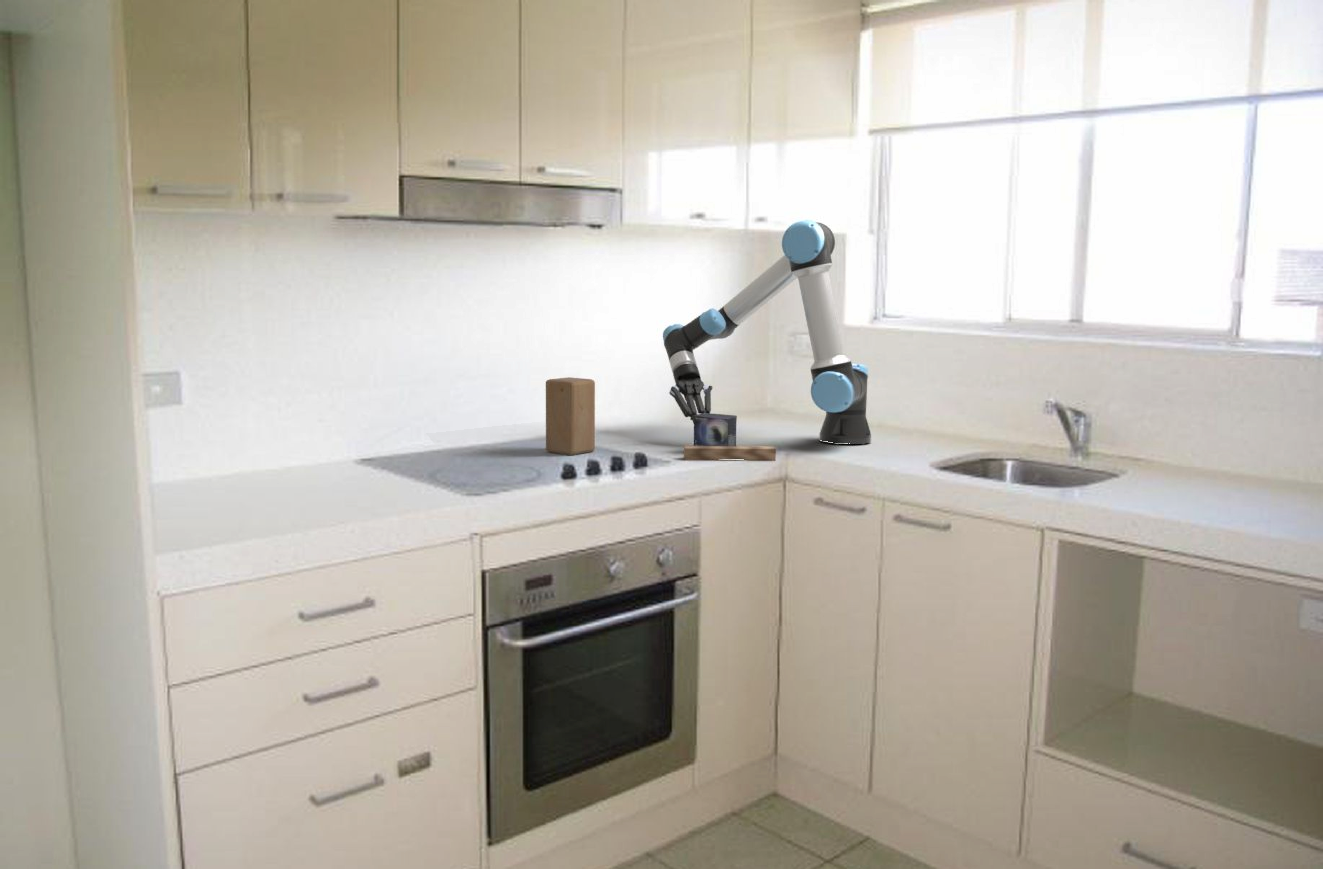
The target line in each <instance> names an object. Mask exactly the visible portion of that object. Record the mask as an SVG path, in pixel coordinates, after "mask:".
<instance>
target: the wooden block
mask: <svg viewBox="0 0 1323 869" xmlns="http://www.w3.org/2000/svg"><path fill="white" fill-rule="evenodd" d="M595 410H596V382H595V380H593V379H591V378H581V377H580V378H579V377H560V378H551V379H547V380H545V451H546V452H548V453H551V452H552V454H558V455H564V454H565V455H567V456H577V455H582V454H587V453H593V452H594V451H595V446H596V444H595V443H596V442H595V441H596V439H595V438H596V436H595V434H596V432H595V431H596V429H595V428H596V424H595V422H596V421H595V420H596V418H595V417H596V416H595V415H596V411H595Z"/></svg>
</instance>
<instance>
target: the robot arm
mask: <svg viewBox="0 0 1323 869" xmlns="http://www.w3.org/2000/svg"><path fill="white" fill-rule="evenodd" d="M834 235H835V234H834V233H833V230H832V229H831V228H830V227H829V226H827V225H826V224H824V223H823V222H816V221H812V220H808V219H806V220H799V221H796V222H794V223H792V224H791V225H789V226H788V227H787V229H786V230H785V231H784V234H783V235H782V237H781V238H782V239H781V249H782V252H783V255H782V257H780V258H779V259H778V260H777V261H775V263H773V264H771V266H770V267H768V268H767V269H766V270H764V272H762V273H761V274H760V275H759V276H758V277H757V278H755V279H754V280H753V281H751V282H750V283H749V284H748V285H747V286H746V287H745V288H743V289H742V290H741V291H740V292H738V293H737V294H736V295H734V297H733V298H732V299H730V300H729V301H728V302H726V304H724V305H723V306H721V307H720V308H719V309H718V310H717V309H716V308H710V309H708V310H706V311H703V312H702V313H701V314H700V315H698V316H697V317H696V318H694V319H692V320H691V321H690V322H688V323H687V324H685V325H683V324H680V323H674V324H673V325H669V326H667V327H666V328H665V329H664V330H663V333H662V340H663V347H664V348H665V351H666V354H667V355H666V356H667V358H668V361H669V365H670V368H671V373H672V376H673V380H674V383H675V385H673V386H671V387H670V390H669V392H668V393H669V395H670V396H671V397H672V398H674V400H675V402H676V404H677V405H678V407H679V408H680V411H681V413H682V414H683V416H684V417H685V418H688V417H689V418H690V421H692V422H693V425H694V416H695V415H698V414H702V413H711V411H712V404H711V403H712V398H711V397H712V396H711V394H712V390H713V386H712V385H708V386H707V385H705V383H704V382H703V380H702V379H701V374H700V372H699V368H698V364H697V361H696V357H695V355H694V350H696V349H698V348H699V347H700V346H702V345H703V344H705V343H707V342H708V341H711V340H717V339H718V340H719V339H726V338H728V337H730V336H731V335H733V333H734V332H735V330H736V329H737V327H739V326H740V325H741V324H742V323H743V322H745V321H746V320H748V318H750V317H751V316H752V315H753V314H754V313H756V312H757V311H758V310H760V308H762V307H763V306H764V305H765V304H767V303H768V302H769V301H770V300H772V299H773V298H774V297H775V296H777V295H778V294H779V293H780V292H781V291H782V290H784V289H786V287H788V286H789V285H790V284H792V283H793V282H794V281H796V279H798V284H799V289H800V295H801V300H802V305H803V310H804V315H805V321H806V325H807V326H806V327H807V331H808V335H809V341H810V345H811V347H810V348H811V351H812V355H813V361H814V362H813V363H812V365H811V366H810V373H811V380H812V383H811V385H810V386H811V387H810V396H811V399H812V401H813V403H814V405H816V406H817V408H819V409H820V410H822V411H824V412H825V416H824V420H823V422H822V426H821V428H820V432H819V434H818V435H819V439H820V440H822V441H828V442H833V443H848V444H849V443H850V444H862V445H864V444H863V443H869V444H871V443H872V434H871V430H870V426H869V422H868V419H867V400H868V398H867V397H868V396H867V394H868V379H869V374H868V373H869V372H868V367H867V366H866V365H865V364H861V363H859V364H857V363H852V359H850V358H849V357H847V356H846V355H845V350H844V346H843V341H842V336H841V331H840V325H839V320H838V316H837V311H836V304H835V299H834V295H833V294H834V293H833V290H832V284H831V280H830V279H831V278H830V274H829V272H830V269H831V268H832V267H833V260H832V254H833V252H834V250H835V245H836V239H835V238H836V237H835V236H834ZM702 390H703V391H702ZM702 392H703V395H704V396H703V397H704V401H703V399H702V396H701V395H702V394H701V393H702ZM870 442H871V443H870Z"/></svg>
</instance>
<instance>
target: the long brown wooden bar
mask: <svg viewBox="0 0 1323 869" xmlns="http://www.w3.org/2000/svg"><path fill="white" fill-rule="evenodd" d="M683 448H684V449H683V450H684V451H683V459H684V461H720V460H719V459H744V460H747V462H749V461H750V462H751V461H752V462H754V461H755V462H756V461H758V462H759V461H761V462H763V461H764V462H765V461H766V462H767V461H769V462H774V461H775V462H776V459H777V458H776V457H777V455H776V452H777V449H776V447H775V446H743V445H742V446H738V445H736V446H694V445H684V446H683Z"/></svg>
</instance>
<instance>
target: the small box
mask: <svg viewBox="0 0 1323 869" xmlns="http://www.w3.org/2000/svg"><path fill="white" fill-rule="evenodd" d="M697 414H698V413H697ZM737 418H738V416H737V415H734V414H732V415H731V414H721V413H711V412H710V413H702V414H698V415H695V416H694V424H693V446H737Z"/></svg>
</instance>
